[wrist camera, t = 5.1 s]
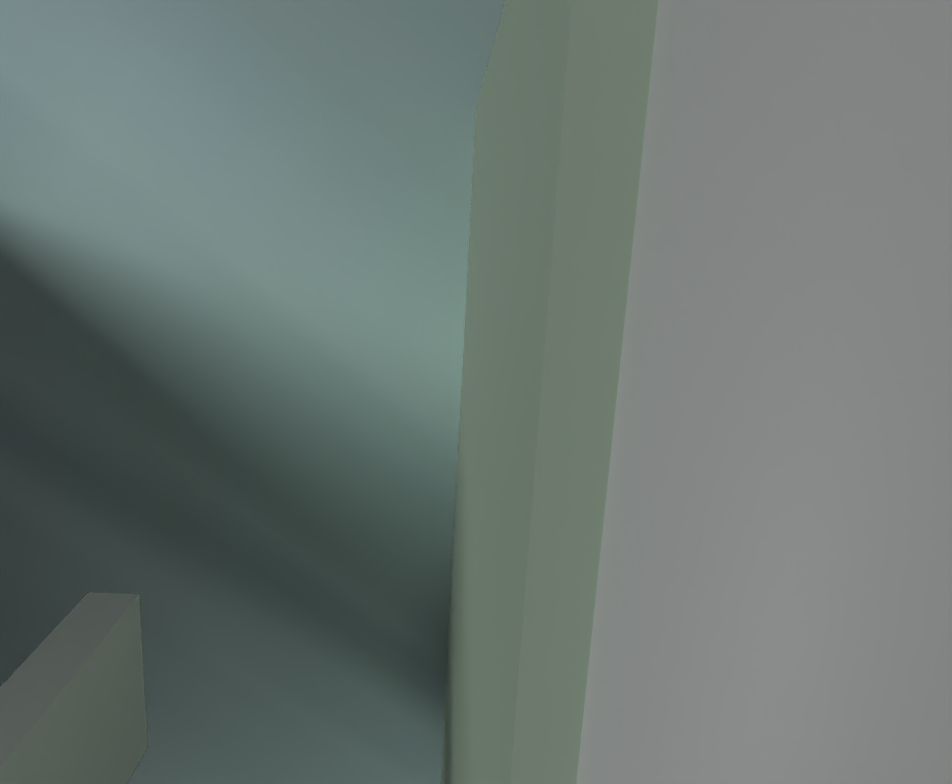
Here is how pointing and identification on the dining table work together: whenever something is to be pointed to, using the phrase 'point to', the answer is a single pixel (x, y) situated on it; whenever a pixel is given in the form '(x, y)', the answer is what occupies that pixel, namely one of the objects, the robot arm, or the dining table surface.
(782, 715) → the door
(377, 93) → the dining table surface
